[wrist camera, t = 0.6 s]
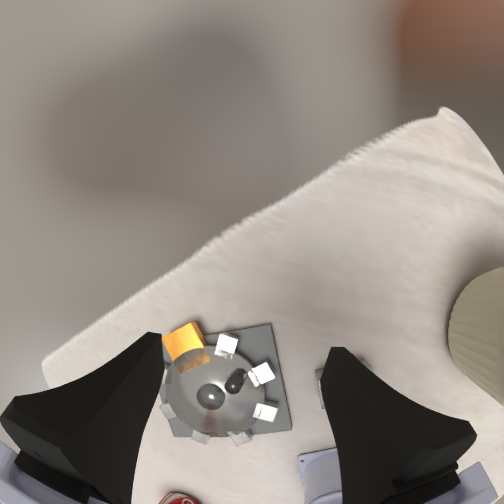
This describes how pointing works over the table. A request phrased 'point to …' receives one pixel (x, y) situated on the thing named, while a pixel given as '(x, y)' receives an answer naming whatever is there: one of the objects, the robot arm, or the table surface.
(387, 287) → the table surface
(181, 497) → the soda can
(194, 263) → the table surface
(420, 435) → the robot arm
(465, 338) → the canister
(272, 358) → the base plate
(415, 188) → the table surface
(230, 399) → the sprocket
